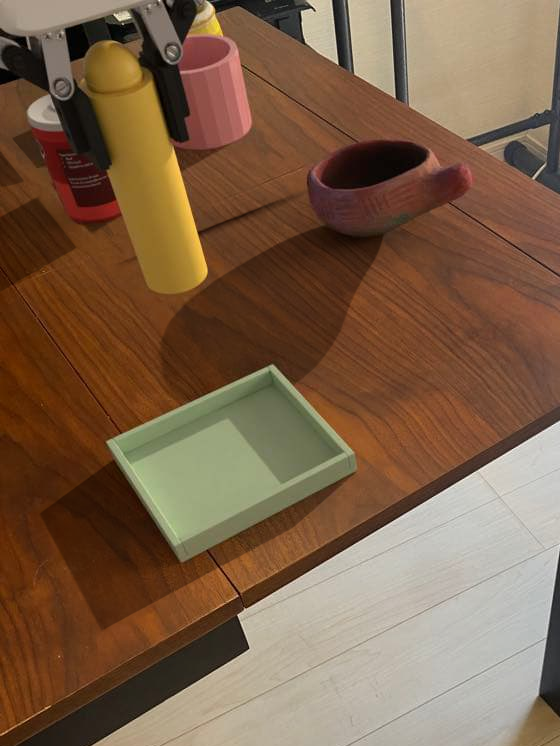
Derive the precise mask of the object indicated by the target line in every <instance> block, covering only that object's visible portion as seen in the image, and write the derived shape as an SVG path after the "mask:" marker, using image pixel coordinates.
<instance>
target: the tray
mask: <svg viewBox="0 0 560 746" xmlns="http://www.w3.org/2000/svg"><path fill="white" fill-rule="evenodd" d="M105 444H106V446H107V448H108V450H109V452H110V454H111V456H112V458H113V460H114V461H115V463H116V465H117V466H118V468H119V469H120V471H121V472H122V474H123V475H124V477H125V479H126V480H127V482H128V483H129V485H130V486H131V488H132V490H133V491H134V493H135V494H136V496H137V497H138V499H139V500H140V502H141V503H142V505H143V507H144V508H145V510H146V511H147V512H148V514H149V516H150V517H151V519H152V520H153V522H154V523H155V525H156V527H157V528H158V530H159V531H160V533H161V535H162V536H163V537H164V539H165V541H166V542H167V543H168V545H169V548H171V550H172V552H173V553H174V554H175V556H176V558H177V559H178V561H179V562H180V563H181V564H183V563H185V562H186V561H188V560H190V559H192V558H194V557H196V556H198V555H200V554H201V553H203V552H206V551H207V550H209V549H211V548H213V547H214V546H216V545H219V544H221V543H223V542H225V541H226V540H228V539H230V538H232V537H234V536H235V535H237V534H239V533H242V532H243V531H246V530H247V529H249V528H251V527H252V526H255V525H256V524H259V523H261V522H262V521H265V520H266V519H268V518H270V517H272V516H273V515H275V514H277V513H279V512H281V511H283V510H285V509H287V508H289V507H291V506H293V505H294V504H297V503H298V502H301V501H303V500H304V499H306V498H308V497H310V496H312V495H314V494H316V493H317V492H320V491H321V490H323V489H325V488H327V487H329V486H330V485H332V484H334V483H336V482H338V481H340V480H342V479H344V478H346V477H348V476H349V475H352V474H353V473H355V472H357V471H358V467H357V461H356V455H355V451H353V450H352V449H351V447H350V446H349V445H348V444H347V443H346V442H345V441H344V440H343V439H342V437H340V435H339V434H338V433H337V432H336V431H335V430H334V429H333V428H332V427H331V425H330V424H329V423H327V421H326V420H325V419H324V418H323V417H322V416H321V415H320V414H319V413H318V411H316V409H315V408H314V407H313V406H312V405H311V404H310V403H309V402H308V401H307V400H306V398H305V397H304V396H303V395H302V394H301V393H300V392H299V391H298V390H297V389H296V388H295V387H294V385H292V383H291V382H290V381H289V380H288V379H287V378H286V376H285V375H284V374H282V372H281V371H280V370H279V369H278V368H277V367H276V366H275V365H274V364H273V363H272V364H269V365H268V366H265V367H263V368H261V369H259V370H257V371H255V372H253V373H250V374H248V375H246V376H244V377H242V378H240V379H237V380H236V381H233V382H231V383H229V384H227V385H224V386H222V387H220V388H218V389H216V390H213V391H212V392H210V393H207V394H205V395H203V396H201V397H198V398H197V399H195V400H192V401H190V402H188V403H186V404H183V405H181V406H178V407H177V408H175V409H172V410H171V411H168V412H167V413H164V414H162V415H160V416H157V417H155V418H152V419H150V420H149V421H147V422H145V423H142V424H140V425H138V426H136V427H134V428H132V429H130V430H127V431H125V432H123V433H121V434H119V435H117V436H114V437H112V438H110V439H108V440H106V441H105Z"/></svg>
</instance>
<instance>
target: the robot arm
mask: <svg viewBox="0 0 560 746" xmlns="http://www.w3.org/2000/svg"><path fill="white" fill-rule="evenodd" d="M204 1H205V0H0V29H1V30H2V31H3V32H5V33H7V34H9V35H11V36H17V37H25V39H26V44H27V46H24V45H23V44H21V43H19V42H18V41H16V40H14V39H13V38H10V37H3V36H0V69H4V70H6V71H9V72H11V74H14V75H16V77H17V76H18V77H19V78H21V79H23V80H24V81H27V82H29V83H30V84H33V85H34V86H36V87H37V88H39V89H41V90H43V91H45V92H47V93H49V94H50V96H51V99H52V102H53V104H54V107H55V110H56V112H57V115H58V117H59V120H60V123H61V125H62V128H63V131H64V133H65V136H66V138H67V141H68V143H69V145H70V147H71V149H72V150H73V152H74V153H75V154H76V155H80V154H84V155H85V156H86V157H87V158H88V159H89V160H90V161H91V162H92V164H93V165H94V166H95V167H96V168H97V169H98V170H99V171H100V172H103V171H106V170H108V169H110V166H111V165H112V162H111V159H110V157H109V154H108V151H107V148H106V145H105V142H104V139H103V136H102V133H101V130H100V127H99V125H98V122H97V119H96V116H95V113H94V110H93V107H92V104H91V101H90V99H89V97H88V96H87V94H86V93H85V92H83V91H82V90H81V89H80V88H79V87H78V86H79V84H78V82H77V79H76V78H74V76H73V71H72V70H73V69H72V64H71V58H70V52H69V46H68V41H67V35H66V29H67V28H71V27H74V26H77V25H78V26H79V25H82V24H84V23H87V22H92V21H95V20H98V19H101V18H105V17H109V16H111V15H114V14H118V13H122V12H126V11H127V10H128V11H127V13H128V12H129V13H128V14H129V16H130V18H131V20H132V22H133V25H134V27H135V29H136V31H137V33H138V35H139V37H140V39H141V42H143V43H141V45H140V46H141V50H140V51H138V55H139V57H137V59H138V61H139V63H140V66H141V67H145V68H147V69H148V70H150V71H151V72H152V74H153V76H154V80H155V83H156V87H157V91H158V94H159V98H160V101H161V105H162V108H163V112H164V116H165V119H166V123H167V126H168V130H169V133H170V137H171V138H172V139H173V140H174V141H175V142H179V143H180V144H181V143H183V142H186V141H189V135H188V131H187V127H186V123H185V119H184V118H186V117H189V116H190V109H189V105H188V102H187V98H186V94H185V90H184V86H183V82H182V78H181V74H180V70H179V67H178V63H179V62H180V61H181V59H182V57H183V48H182V45H183V43H184V41H185V39H186V37H187V34H188V32H189V30H190V28H191V26H192V24H193V21H194V19H195V17H196V14H197V9H198V7H199V6H200V5H202V4H203V3H204ZM49 94H48V95H49Z"/></svg>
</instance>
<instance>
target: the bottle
mask: <svg viewBox="0 0 560 746" xmlns="http://www.w3.org/2000/svg"><path fill="white" fill-rule="evenodd" d="M82 74H83V78H82V79H81V81H80V82H79V84H78V87H79V88H80V89H81V90H82V91H83V92H85V93H86V94H87V96H88V97H89V99H90V101H91V104H92V107H93V110H94V113H95V116H96V119H97V122H98V125H99V127H100V130H101V133H102V136H103V139H104V142H105V145H106V148H107V151H108V154H109V157H110V159H111V162H112V165H111V166H110V169H108V170H107V173H108V176H109V179H110V182H111V184H112V187H113V190H114V193H115V196H116V199H117V201H118V204H119V207H120V210H121V213H122V215H121V216H122V219H123V221H124V224H125V227H126V229H127V232H128V233H127V234H128V235H129V239H130V241H131V244H132V247H133V249H134V252H135V255H136V258H137V261H138V264H139V266H140V270H141V272H142V275H143V278H144V281H145V284H146V286H147V287H148V288H149V289H150V290H151V291H153V292H155V293H158V294H162V295H163V294H164V295H175V294H180V293H184V292H187V291H190V290H193V289H194V288H197V287H198V286H199V285H201V283H203V282H204V281H205V279H206V278H207V276H208V270H209V269H208V265H207V262H206V259H205V255H204V251H203V248H202V244H201V241H200V237H199V234H198V230H197V227H196V223H195V219H194V216H193V212H192V208H191V205H190V201H189V197H188V194H187V191H186V187H185V184H184V179H183V176H182V173H181V169H180V166H179V163H178V159H177V155H176V151H175V148H174V145H173V144H172V140H171V137H170V133H169V130H168V126H167V123H166V119H165V116H164V112H163V108H162V105H161V101H160V98H159V94H158V91H157V87H156V83H155V80H154V76H153V74H152V72H151V71H150V70H148V69H147V68H145V67H141V66H140V63H139V61H138V57H137V56H136V54H135V53H134V52H133V51H132V50H131V48H129V47H128V46H126V45H125V44H123V43H121V42H119V41H116V40H112V39H105V40H100V41H97V42H95V43H94V44H93V45H92V46H90V47H89V48H88V50H87V51H86V53H85V55H84V58H83V62H82Z"/></svg>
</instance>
